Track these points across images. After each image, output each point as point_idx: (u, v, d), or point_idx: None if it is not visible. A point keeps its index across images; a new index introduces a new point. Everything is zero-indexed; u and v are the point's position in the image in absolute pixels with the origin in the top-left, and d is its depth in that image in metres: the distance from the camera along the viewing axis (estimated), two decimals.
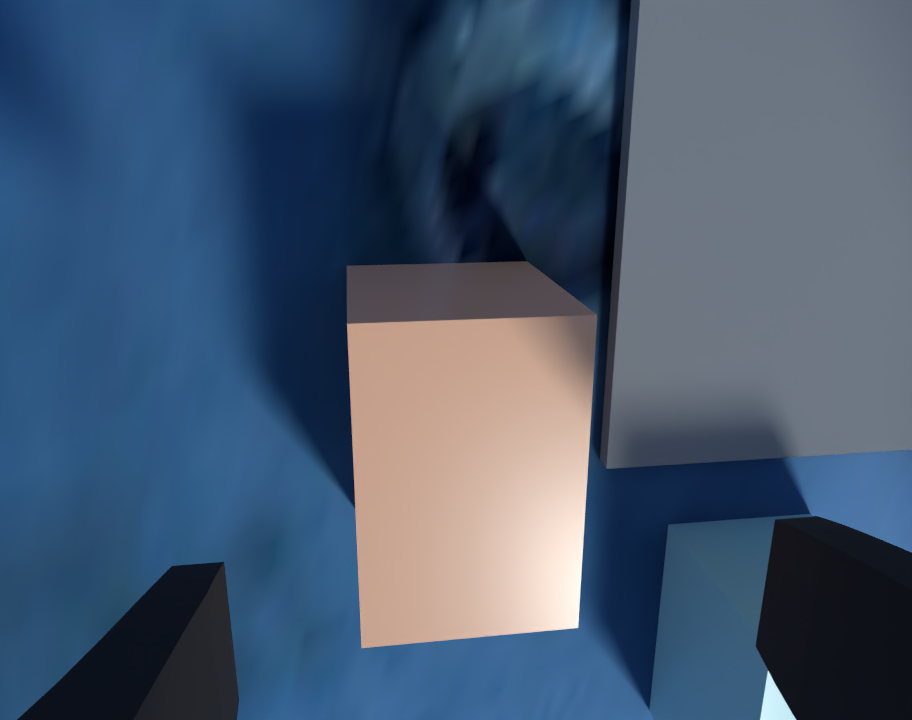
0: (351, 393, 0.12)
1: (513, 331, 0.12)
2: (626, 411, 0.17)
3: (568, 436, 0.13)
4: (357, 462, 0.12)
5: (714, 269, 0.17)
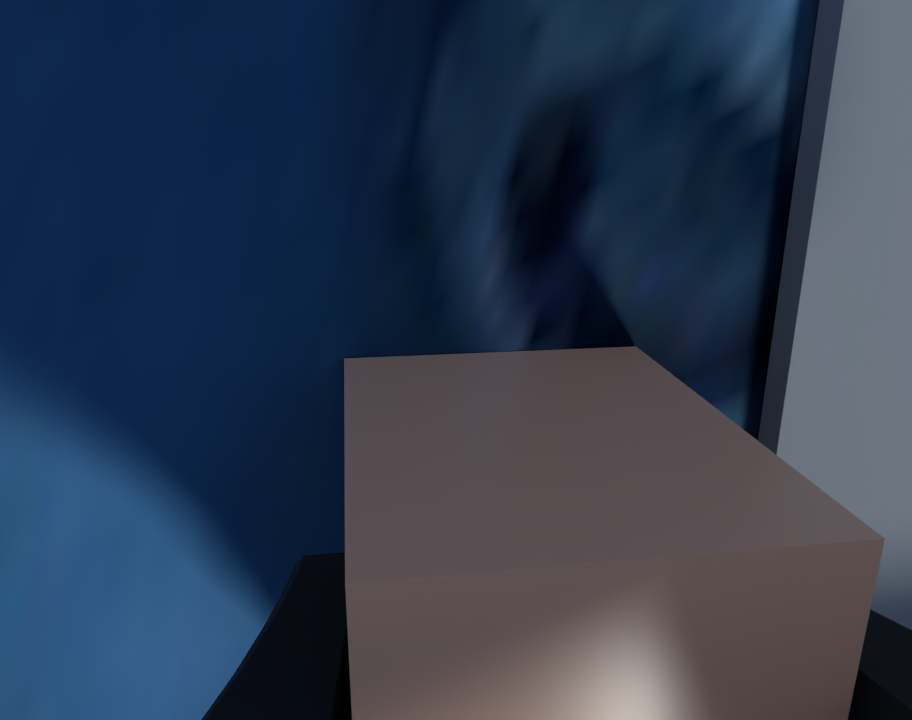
0: None
1: (709, 578, 0.05)
2: None
3: None
4: None
5: None
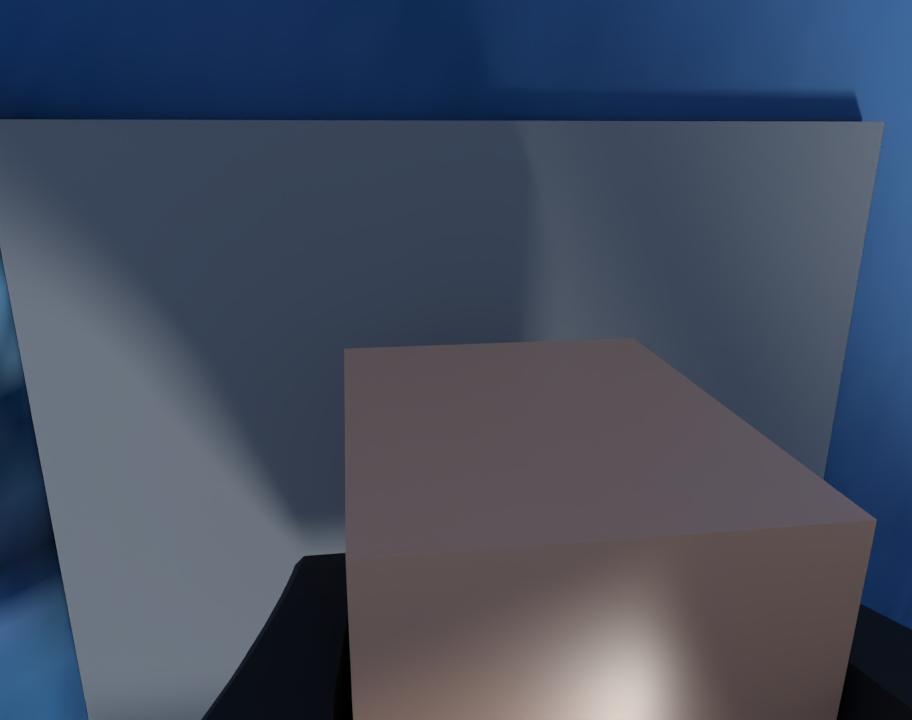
0: (354, 698, 0.05)
1: (703, 559, 0.05)
2: (111, 718, 0.14)
3: None
4: None
5: (194, 553, 0.13)
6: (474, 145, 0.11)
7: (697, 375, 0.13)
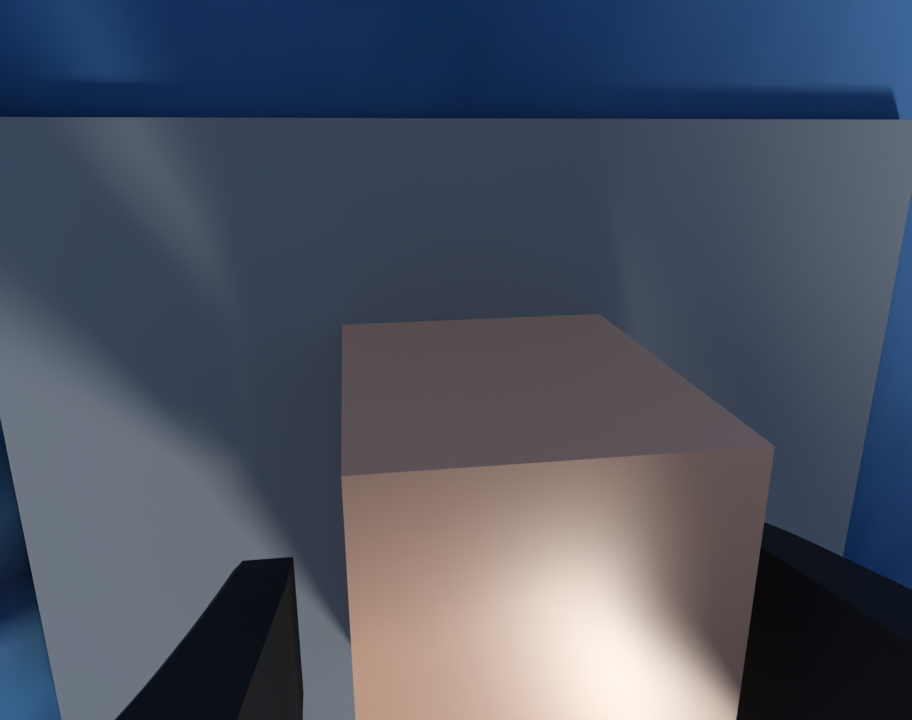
0: (350, 591, 0.07)
1: (633, 476, 0.07)
2: None
3: (713, 638, 0.07)
4: (360, 698, 0.07)
5: (181, 583, 0.12)
6: (483, 145, 0.11)
7: (721, 391, 0.12)
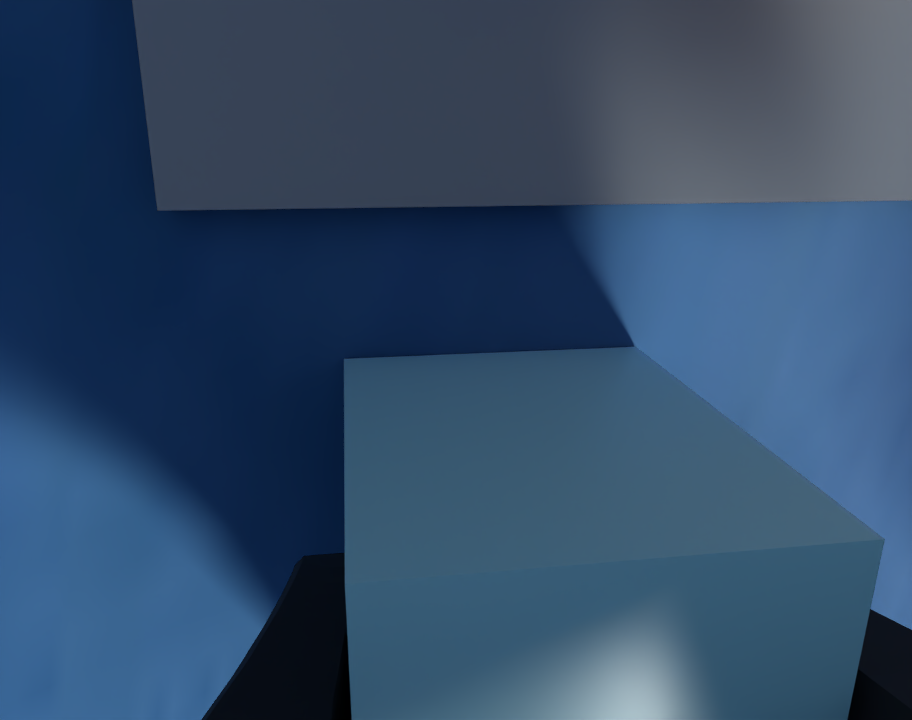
0: None
1: None
2: (178, 70, 0.08)
3: None
4: None
5: None
6: None
7: None
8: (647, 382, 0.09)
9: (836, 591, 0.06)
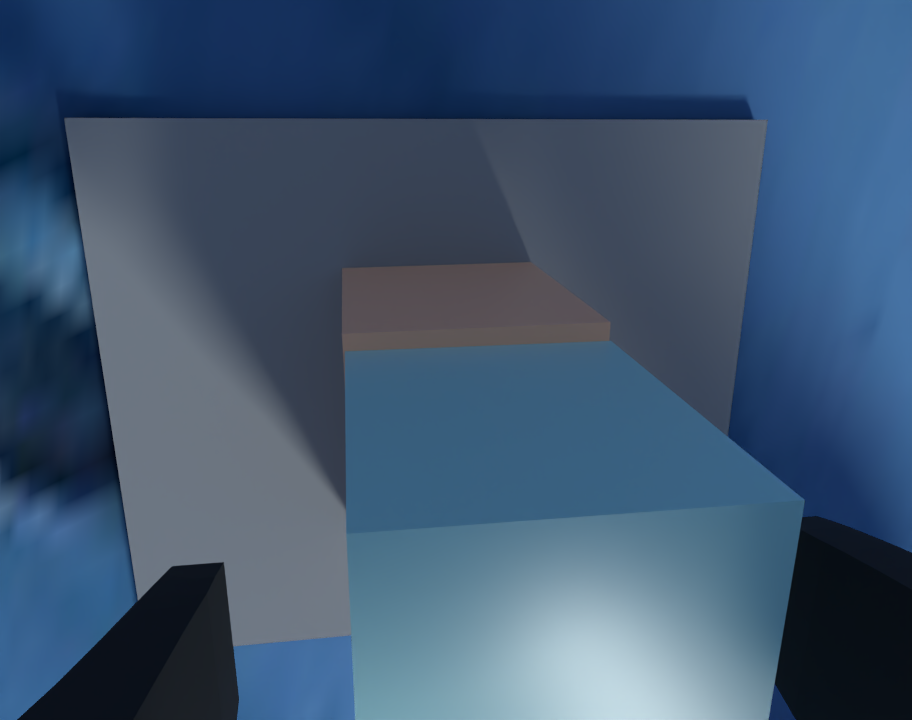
0: None
1: (521, 339, 0.11)
2: None
3: None
4: None
5: (223, 462, 0.16)
6: (443, 138, 0.15)
7: (624, 322, 0.17)
8: (619, 372, 0.10)
9: (764, 546, 0.07)
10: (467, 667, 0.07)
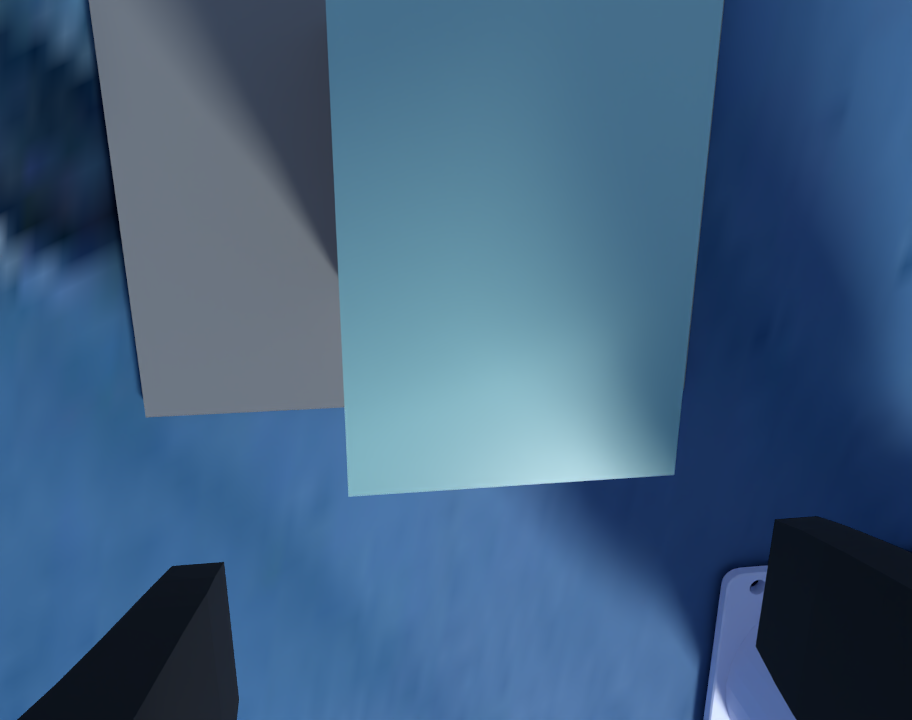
0: None
1: None
2: (155, 359, 0.18)
3: None
4: None
5: (219, 218, 0.17)
6: None
7: None
8: None
9: None
10: (430, 78, 0.07)
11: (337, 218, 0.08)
